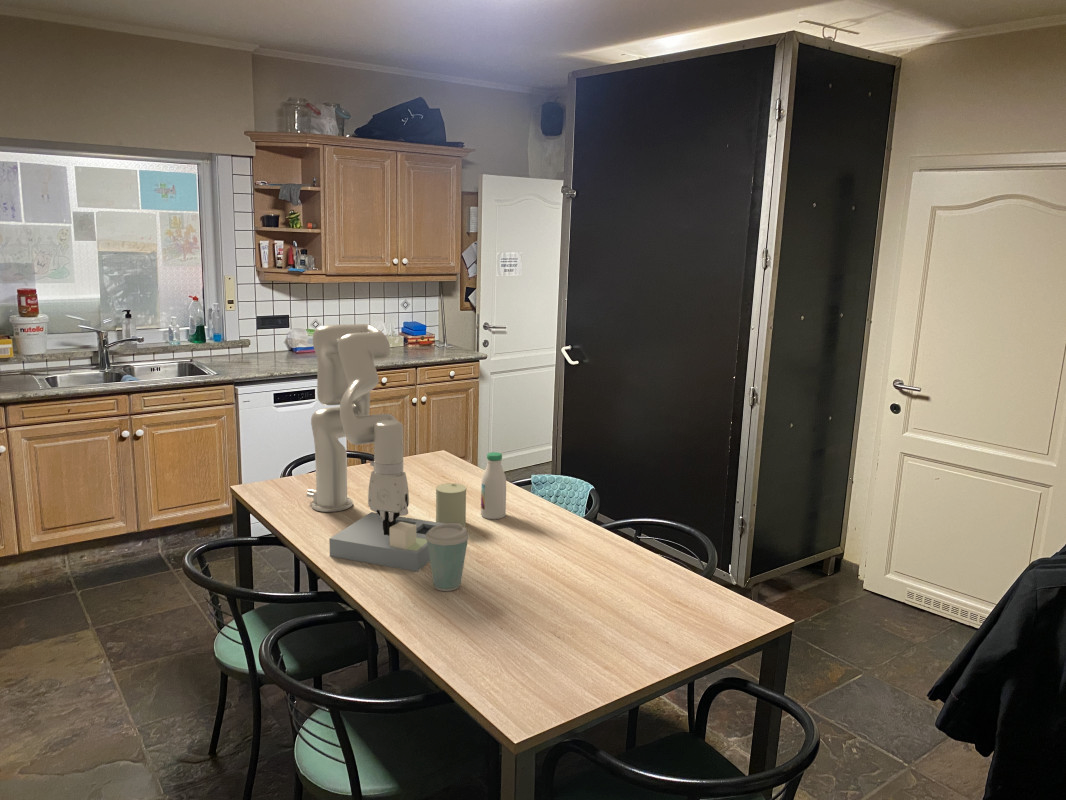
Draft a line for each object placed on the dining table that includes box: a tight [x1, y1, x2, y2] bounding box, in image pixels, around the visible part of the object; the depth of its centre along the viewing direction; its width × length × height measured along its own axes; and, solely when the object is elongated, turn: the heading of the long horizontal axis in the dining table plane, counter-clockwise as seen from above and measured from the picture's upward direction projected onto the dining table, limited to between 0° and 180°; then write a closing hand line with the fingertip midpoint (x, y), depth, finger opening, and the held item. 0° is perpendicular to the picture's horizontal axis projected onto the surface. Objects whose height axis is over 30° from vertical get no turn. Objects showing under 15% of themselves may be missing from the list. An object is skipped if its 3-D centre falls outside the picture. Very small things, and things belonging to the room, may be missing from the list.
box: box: [328, 511, 444, 572], centre depth 214 cm, size 26×22×5 cm
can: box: [435, 482, 467, 527], centre depth 232 cm, size 9×9×12 cm
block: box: [390, 522, 416, 549], centre depth 204 cm, size 5×5×5 cm
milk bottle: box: [480, 451, 507, 520], centre depth 240 cm, size 8×8×20 cm
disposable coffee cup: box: [426, 523, 470, 592], centre depth 191 cm, size 11×11×15 cm
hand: (389, 533), depth 207 cm, fingers closed
